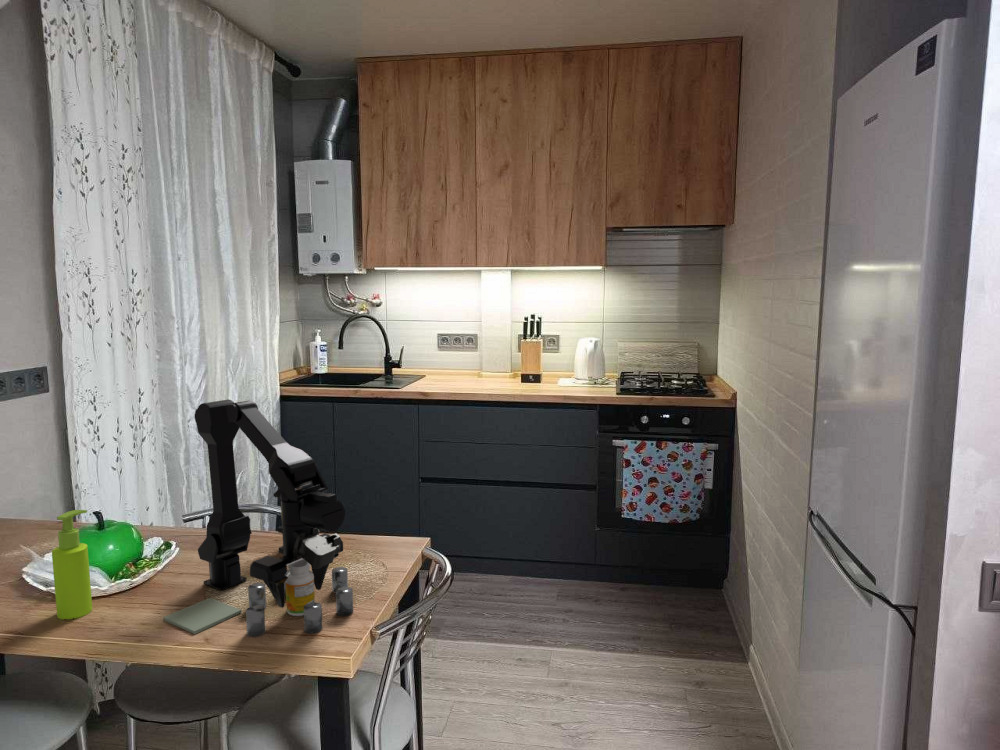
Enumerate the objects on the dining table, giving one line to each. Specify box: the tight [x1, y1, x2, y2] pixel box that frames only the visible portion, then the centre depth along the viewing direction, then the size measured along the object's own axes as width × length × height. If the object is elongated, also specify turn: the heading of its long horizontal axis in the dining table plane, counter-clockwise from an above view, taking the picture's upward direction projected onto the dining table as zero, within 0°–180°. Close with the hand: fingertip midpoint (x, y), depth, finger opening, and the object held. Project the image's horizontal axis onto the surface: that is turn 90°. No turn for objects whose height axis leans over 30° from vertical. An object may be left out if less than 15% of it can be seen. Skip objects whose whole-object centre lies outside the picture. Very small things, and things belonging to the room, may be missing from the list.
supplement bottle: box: [285, 559, 316, 617], centre depth 133 cm, size 5×5×10 cm
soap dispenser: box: [51, 509, 93, 620], centre depth 132 cm, size 6×7×20 cm
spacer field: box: [245, 566, 354, 638], centre depth 133 cm, size 19×24×4 cm
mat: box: [162, 597, 242, 635], centre depth 131 cm, size 10×10×1 cm
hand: (300, 597), depth 133 cm, fingers open, 9 cm apart
